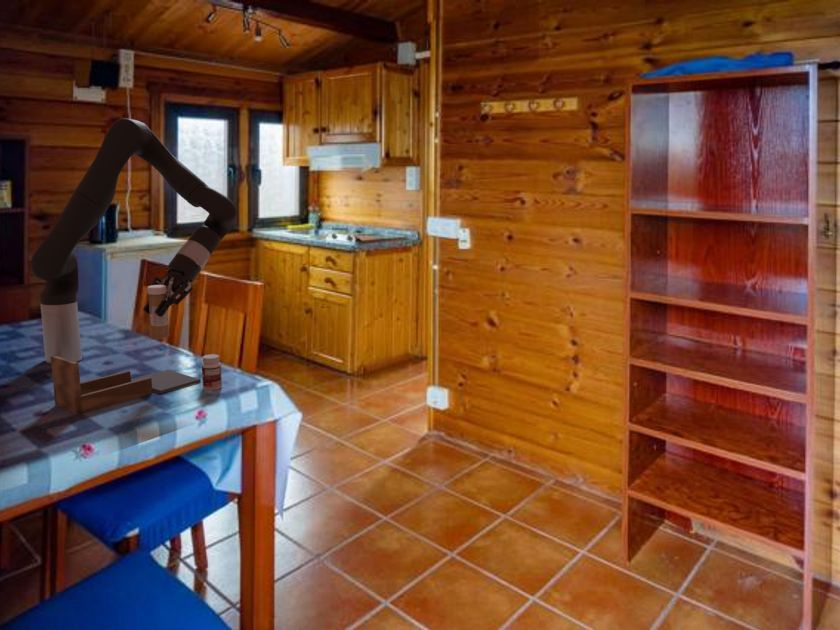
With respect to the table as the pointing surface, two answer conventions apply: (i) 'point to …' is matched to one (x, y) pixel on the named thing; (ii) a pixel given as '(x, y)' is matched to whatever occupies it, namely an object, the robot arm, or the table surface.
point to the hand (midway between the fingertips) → (152, 313)
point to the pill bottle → (211, 372)
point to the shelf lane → (93, 387)
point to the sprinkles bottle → (157, 323)
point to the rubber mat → (169, 381)
